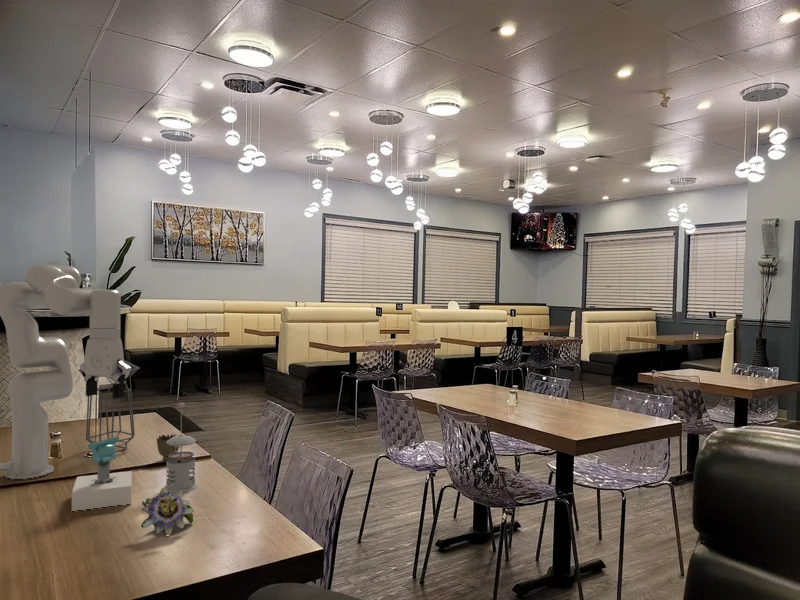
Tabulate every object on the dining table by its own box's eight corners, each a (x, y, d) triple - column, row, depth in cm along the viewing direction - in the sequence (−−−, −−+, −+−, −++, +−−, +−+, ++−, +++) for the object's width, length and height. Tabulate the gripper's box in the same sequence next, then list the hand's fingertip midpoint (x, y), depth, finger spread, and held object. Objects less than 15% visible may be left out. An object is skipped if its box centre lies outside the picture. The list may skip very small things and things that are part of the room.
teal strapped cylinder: (97, 506, 153) (97, 445, 153) (81, 503, 155) (82, 443, 155) (124, 495, 161) (124, 437, 161) (109, 492, 163) (109, 436, 163)
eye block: (71, 511, 149) (71, 492, 149) (76, 494, 162) (77, 476, 161) (131, 504, 155) (131, 485, 154) (131, 488, 167) (131, 471, 167)
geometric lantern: (143, 448, 209) (142, 353, 208) (100, 460, 196) (100, 358, 194) (118, 441, 218) (117, 349, 216) (76, 452, 204) (75, 354, 203)
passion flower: (168, 558, 135) (140, 527, 129) (152, 535, 143) (125, 505, 137) (208, 523, 141) (183, 492, 135) (190, 502, 148) (166, 472, 142)
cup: (174, 463, 192) (174, 439, 192) (152, 463, 192) (152, 439, 192) (183, 457, 199) (183, 434, 199) (162, 456, 199) (162, 433, 199)
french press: (164, 495, 162) (165, 407, 161) (160, 483, 172) (161, 400, 172) (200, 490, 166) (201, 404, 166) (195, 478, 176) (195, 397, 176)
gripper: (69, 334, 157) (69, 396, 157) (118, 336, 151) (117, 401, 151) (93, 332, 164) (92, 392, 164) (140, 334, 158) (139, 396, 158)
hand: (104, 396), depth 158 cm, fingers open, 9 cm apart
